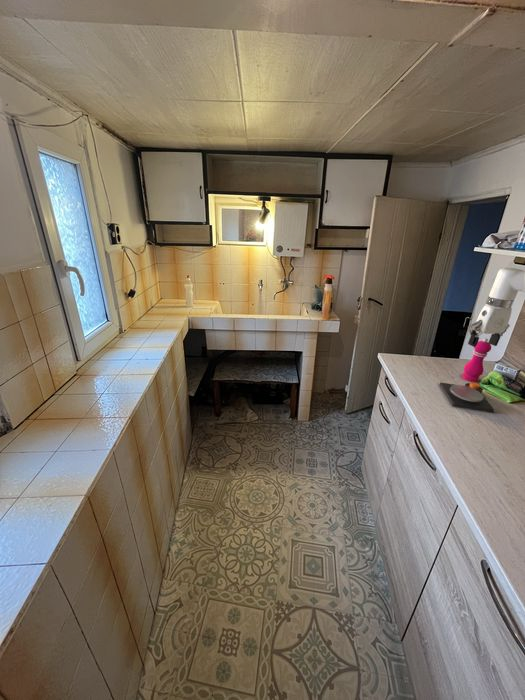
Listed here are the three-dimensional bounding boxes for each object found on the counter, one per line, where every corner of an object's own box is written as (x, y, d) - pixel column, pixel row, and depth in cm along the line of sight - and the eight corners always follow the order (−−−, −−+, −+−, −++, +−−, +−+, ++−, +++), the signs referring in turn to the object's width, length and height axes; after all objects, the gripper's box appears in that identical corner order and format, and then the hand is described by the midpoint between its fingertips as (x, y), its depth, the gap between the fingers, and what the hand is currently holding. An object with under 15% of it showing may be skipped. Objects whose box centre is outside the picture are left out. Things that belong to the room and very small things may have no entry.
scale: (476, 390, 120) (479, 384, 118) (494, 413, 105) (498, 406, 104) (439, 385, 123) (441, 379, 121) (452, 406, 108) (454, 399, 107)
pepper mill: (460, 379, 128) (475, 338, 120) (460, 373, 134) (475, 333, 125) (479, 384, 124) (496, 343, 116) (479, 377, 130) (496, 337, 122)
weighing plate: (475, 388, 115) (476, 387, 115) (488, 404, 105) (488, 402, 105) (446, 384, 117) (446, 383, 117) (455, 399, 108) (456, 397, 107)
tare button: (476, 386, 118) (477, 382, 117) (479, 390, 115) (481, 386, 114) (467, 385, 118) (469, 381, 117) (471, 389, 115) (472, 385, 115)
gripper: (488, 306, 99) (471, 349, 106) (528, 305, 102) (509, 348, 109) (470, 300, 106) (455, 342, 113) (508, 300, 109) (491, 340, 116)
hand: (482, 345), depth 111 cm, fingers open, 9 cm apart
